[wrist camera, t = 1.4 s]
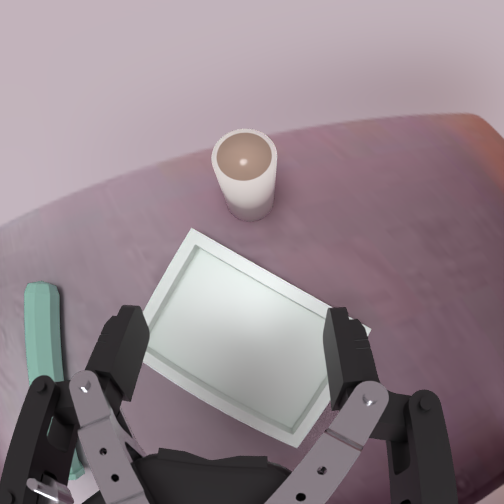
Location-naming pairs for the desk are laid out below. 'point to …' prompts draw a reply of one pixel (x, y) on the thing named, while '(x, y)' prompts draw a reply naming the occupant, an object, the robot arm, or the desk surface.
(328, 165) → the desk surface
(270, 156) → the cup
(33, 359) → the green faceted rod
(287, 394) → the tray
